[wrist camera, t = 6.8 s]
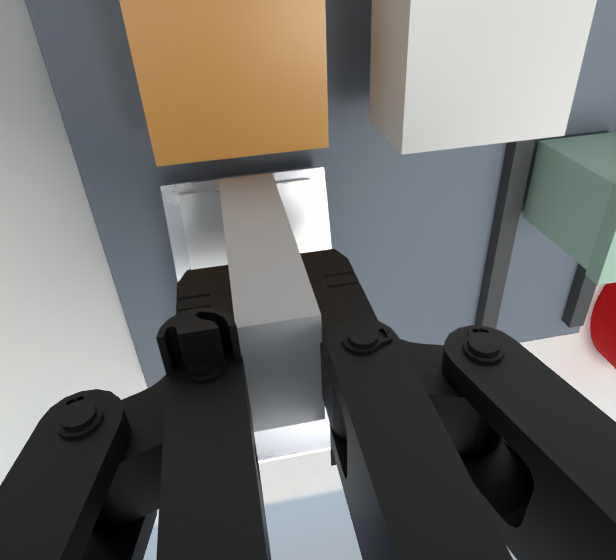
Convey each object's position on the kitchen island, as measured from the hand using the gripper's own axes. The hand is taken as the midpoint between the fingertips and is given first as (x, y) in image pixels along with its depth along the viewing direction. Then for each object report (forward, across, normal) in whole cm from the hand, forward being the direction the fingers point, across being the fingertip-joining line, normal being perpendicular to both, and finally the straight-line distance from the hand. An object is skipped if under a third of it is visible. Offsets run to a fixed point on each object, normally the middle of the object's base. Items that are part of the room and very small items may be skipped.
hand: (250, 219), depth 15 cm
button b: (+1, +6, +4) cm, 7 cm away
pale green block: (+3, +12, -1) cm, 12 cm away
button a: (+2, 0, +4) cm, 5 cm away
